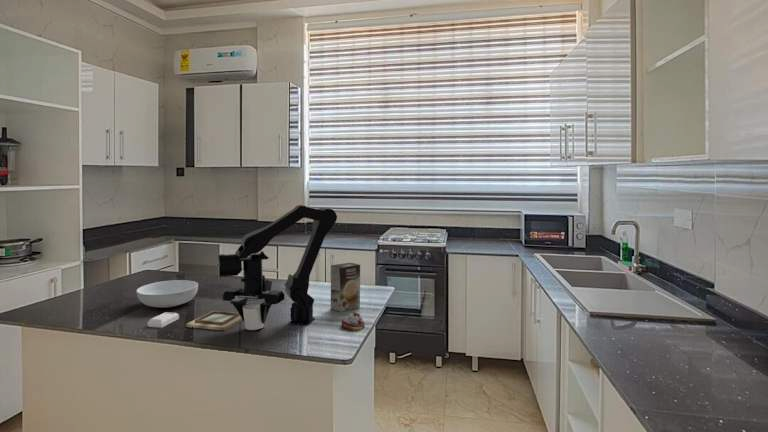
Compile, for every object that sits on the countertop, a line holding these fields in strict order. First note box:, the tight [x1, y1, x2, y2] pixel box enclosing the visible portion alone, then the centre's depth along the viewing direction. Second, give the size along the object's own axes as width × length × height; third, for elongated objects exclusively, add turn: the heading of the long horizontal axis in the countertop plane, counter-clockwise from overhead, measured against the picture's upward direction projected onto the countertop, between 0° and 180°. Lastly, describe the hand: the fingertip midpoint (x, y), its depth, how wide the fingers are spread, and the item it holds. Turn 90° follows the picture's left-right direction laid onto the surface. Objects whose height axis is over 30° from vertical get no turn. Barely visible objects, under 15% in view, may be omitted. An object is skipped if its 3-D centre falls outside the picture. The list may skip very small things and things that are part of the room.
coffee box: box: [330, 262, 361, 313], centre depth 162 cm, size 9×6×16 cm
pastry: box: [341, 311, 366, 331], centre depth 143 cm, size 8×8×5 cm
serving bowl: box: [135, 279, 199, 309], centre depth 166 cm, size 21×21×7 cm
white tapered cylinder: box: [243, 302, 265, 331], centre depth 140 cm, size 7×7×7 cm
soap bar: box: [147, 311, 180, 328], centre depth 146 cm, size 5×9×3 cm, turn 170°
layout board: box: [185, 310, 243, 331], centre depth 147 cm, size 14×14×2 cm
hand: (254, 322), depth 140 cm, fingers closed on white tapered cylinder, 6 cm apart
